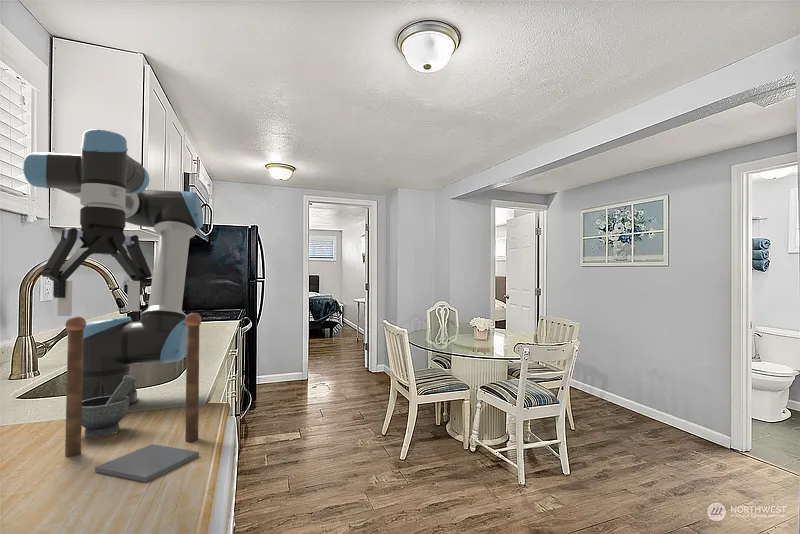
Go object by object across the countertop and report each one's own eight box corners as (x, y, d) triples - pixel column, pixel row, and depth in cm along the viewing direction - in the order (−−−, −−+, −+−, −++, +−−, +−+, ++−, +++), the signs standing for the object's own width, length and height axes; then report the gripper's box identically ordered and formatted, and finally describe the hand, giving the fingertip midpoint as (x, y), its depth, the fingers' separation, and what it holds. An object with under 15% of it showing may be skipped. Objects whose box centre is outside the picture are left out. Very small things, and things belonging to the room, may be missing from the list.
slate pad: (151, 448, 83) (151, 444, 83) (198, 456, 79) (198, 451, 79) (95, 471, 73) (95, 467, 73) (145, 482, 68) (145, 477, 68)
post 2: (192, 436, 89) (193, 312, 90) (203, 438, 88) (205, 312, 89) (179, 441, 86) (181, 313, 87) (191, 443, 85) (193, 313, 86)
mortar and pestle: (71, 444, 85) (72, 385, 86) (76, 431, 93) (77, 376, 94) (136, 433, 91) (137, 377, 92) (135, 421, 99) (136, 370, 100)
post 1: (76, 449, 82) (79, 315, 83) (87, 451, 81) (90, 315, 82) (58, 456, 79) (61, 316, 80) (69, 458, 78) (72, 316, 79)
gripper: (45, 194, 72) (42, 318, 71) (170, 216, 95) (168, 309, 94) (18, 198, 74) (15, 317, 74) (145, 218, 98) (144, 309, 97)
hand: (101, 313), depth 84 cm, fingers open, 13 cm apart
